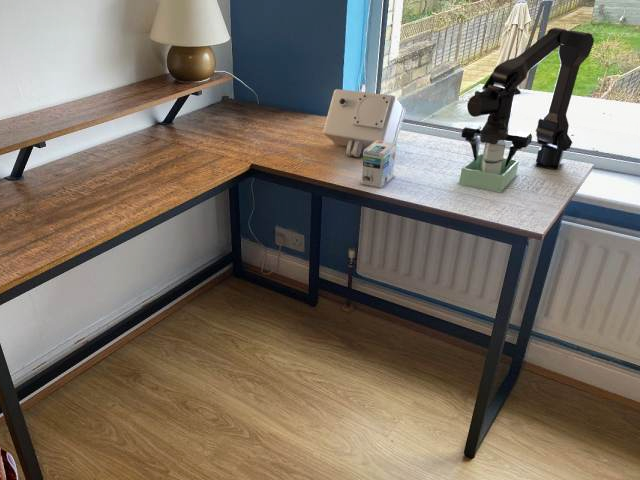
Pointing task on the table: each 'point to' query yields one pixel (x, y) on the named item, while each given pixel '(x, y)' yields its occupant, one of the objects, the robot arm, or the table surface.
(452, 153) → the table surface
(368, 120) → the junction box
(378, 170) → the light bulb box
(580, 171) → the table surface
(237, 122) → the table surface
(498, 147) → the ink box
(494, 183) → the open green storage box
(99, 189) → the table surface
